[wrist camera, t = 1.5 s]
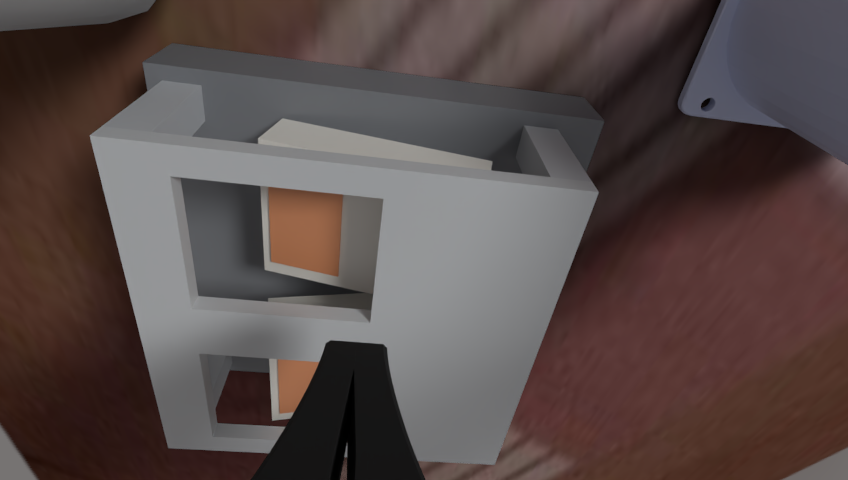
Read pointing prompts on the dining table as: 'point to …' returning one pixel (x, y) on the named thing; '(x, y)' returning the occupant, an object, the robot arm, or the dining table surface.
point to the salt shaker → (66, 12)
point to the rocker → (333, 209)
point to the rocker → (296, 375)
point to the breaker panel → (397, 248)
